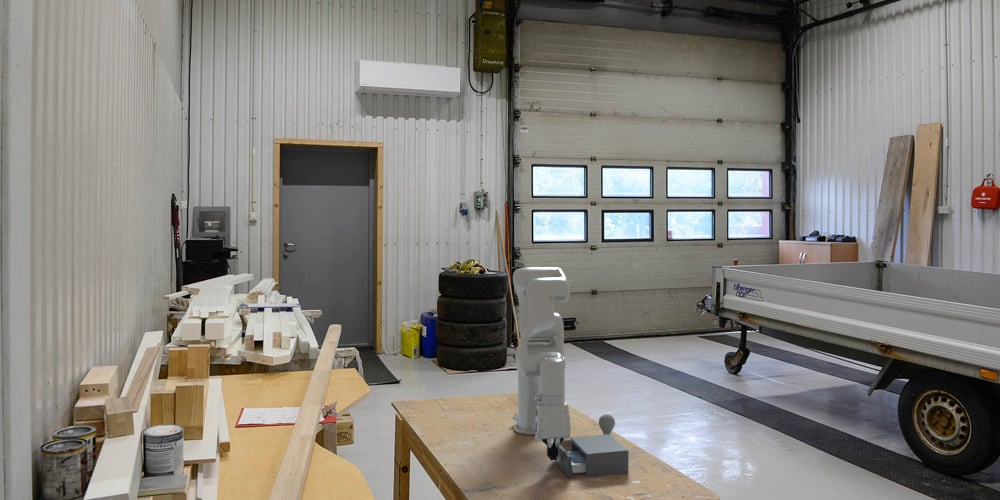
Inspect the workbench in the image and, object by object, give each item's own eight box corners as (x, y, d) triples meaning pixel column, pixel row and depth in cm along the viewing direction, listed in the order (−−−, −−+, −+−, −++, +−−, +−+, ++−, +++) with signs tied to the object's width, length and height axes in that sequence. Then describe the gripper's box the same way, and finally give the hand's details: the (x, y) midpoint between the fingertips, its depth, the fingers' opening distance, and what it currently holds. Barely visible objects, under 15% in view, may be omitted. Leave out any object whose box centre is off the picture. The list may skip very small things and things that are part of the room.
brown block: (554, 447, 214) (554, 435, 214) (568, 446, 215) (568, 434, 215) (559, 453, 210) (558, 440, 209) (573, 451, 211) (573, 439, 210)
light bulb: (602, 447, 215) (602, 417, 214) (596, 441, 220) (596, 412, 220) (617, 445, 216) (617, 415, 216) (610, 440, 222) (610, 411, 221)
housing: (570, 459, 204) (570, 437, 204) (609, 455, 207) (609, 434, 206) (587, 477, 189) (587, 453, 189) (628, 473, 192) (628, 450, 192)
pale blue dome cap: (566, 459, 198) (566, 454, 198) (583, 454, 202) (583, 449, 202) (582, 466, 192) (582, 461, 192) (599, 461, 196) (599, 456, 196)
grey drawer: (550, 459, 202) (550, 440, 202) (591, 455, 205) (591, 437, 205) (565, 477, 188) (564, 457, 188) (609, 473, 191) (609, 453, 191)
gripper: (531, 403, 189) (531, 465, 189) (579, 400, 192) (580, 461, 192) (525, 397, 196) (525, 456, 197) (571, 394, 199) (572, 452, 200)
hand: (552, 458), depth 195 cm, fingers closed
